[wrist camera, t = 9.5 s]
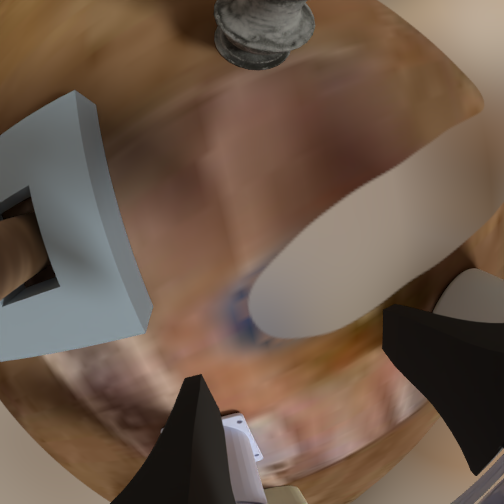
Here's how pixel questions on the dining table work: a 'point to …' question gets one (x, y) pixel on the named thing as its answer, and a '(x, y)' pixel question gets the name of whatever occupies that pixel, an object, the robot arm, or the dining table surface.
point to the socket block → (69, 236)
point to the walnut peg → (20, 251)
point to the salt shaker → (261, 30)
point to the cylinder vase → (473, 297)
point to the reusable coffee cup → (284, 495)
